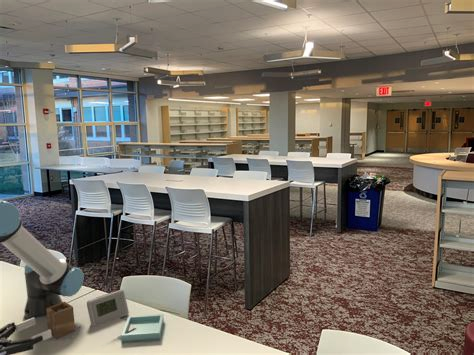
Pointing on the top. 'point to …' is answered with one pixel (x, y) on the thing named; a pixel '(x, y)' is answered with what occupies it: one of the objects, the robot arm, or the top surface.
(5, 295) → the top surface
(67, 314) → the wooden pen holder
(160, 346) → the top surface
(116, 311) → the digital clock
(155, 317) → the tray
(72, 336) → the post base
